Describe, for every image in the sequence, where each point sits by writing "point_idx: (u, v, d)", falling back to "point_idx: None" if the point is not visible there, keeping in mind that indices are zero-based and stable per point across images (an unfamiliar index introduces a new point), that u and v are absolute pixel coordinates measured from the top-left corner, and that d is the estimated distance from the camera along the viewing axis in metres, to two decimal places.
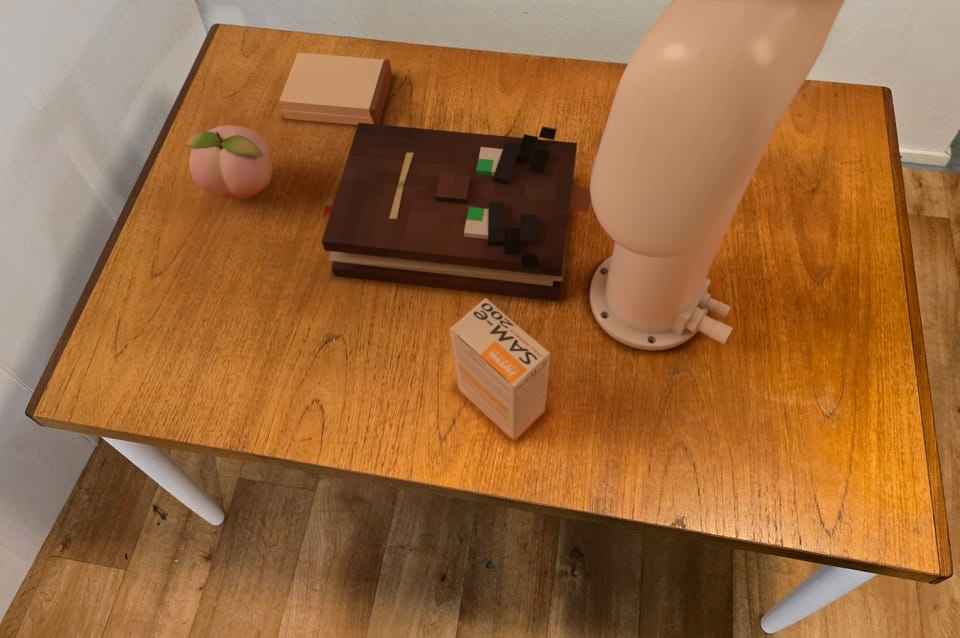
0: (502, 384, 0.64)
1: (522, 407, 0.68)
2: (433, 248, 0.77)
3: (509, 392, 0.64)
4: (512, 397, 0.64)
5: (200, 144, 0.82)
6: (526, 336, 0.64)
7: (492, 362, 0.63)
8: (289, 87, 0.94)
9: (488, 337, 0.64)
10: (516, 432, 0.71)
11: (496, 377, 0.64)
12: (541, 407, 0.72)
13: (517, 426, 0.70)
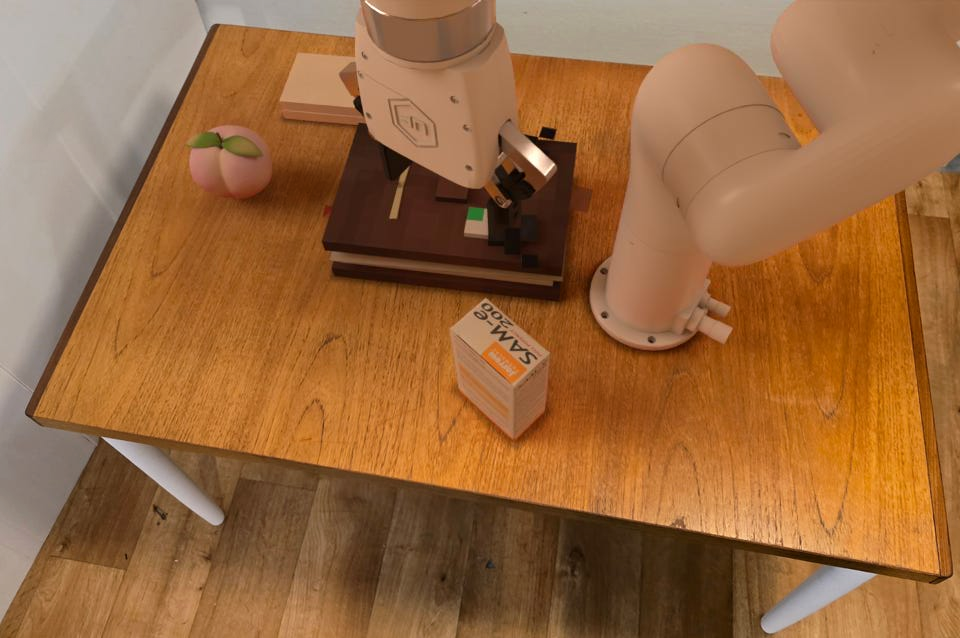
0: (502, 384, 0.64)
1: (523, 407, 0.68)
2: (433, 248, 0.77)
3: (509, 392, 0.64)
4: (512, 397, 0.64)
5: (200, 144, 0.82)
6: (526, 336, 0.64)
7: (493, 362, 0.63)
8: (289, 87, 0.94)
9: (488, 337, 0.64)
10: (516, 432, 0.71)
11: (496, 377, 0.64)
12: (541, 407, 0.72)
13: (517, 426, 0.70)
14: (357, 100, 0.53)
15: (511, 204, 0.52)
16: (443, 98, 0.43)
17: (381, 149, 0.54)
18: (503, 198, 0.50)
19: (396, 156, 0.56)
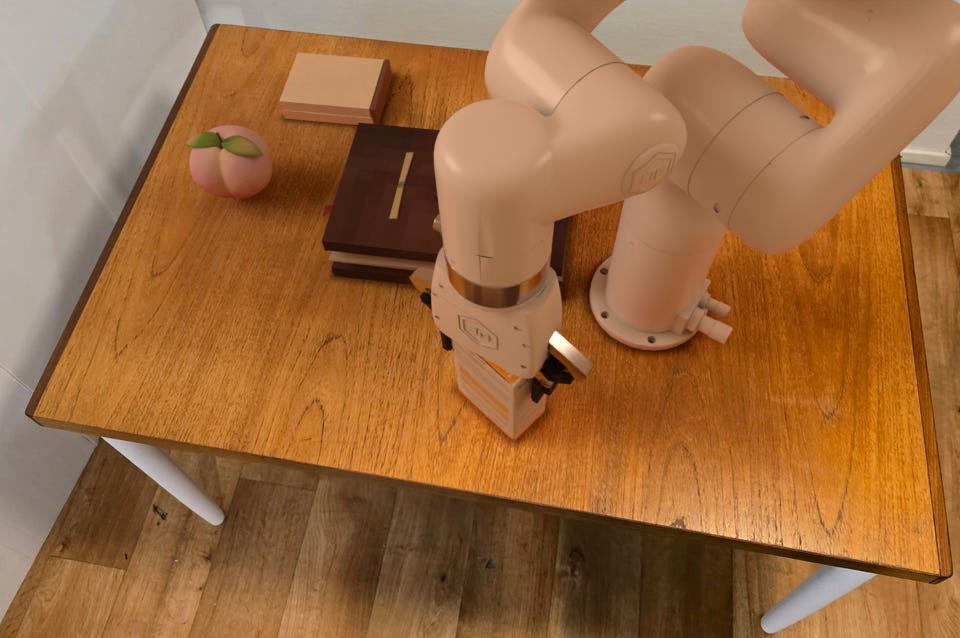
0: (501, 384, 0.64)
1: (522, 407, 0.67)
2: (433, 248, 0.77)
3: (509, 392, 0.64)
4: (512, 398, 0.64)
5: (200, 144, 0.82)
6: None
7: (492, 363, 0.63)
8: (289, 87, 0.94)
9: None
10: (516, 432, 0.71)
11: (495, 378, 0.64)
12: (541, 407, 0.72)
13: (517, 426, 0.70)
14: (424, 296, 0.64)
15: None
16: (508, 326, 0.54)
17: (442, 332, 0.65)
18: (547, 382, 0.61)
19: None
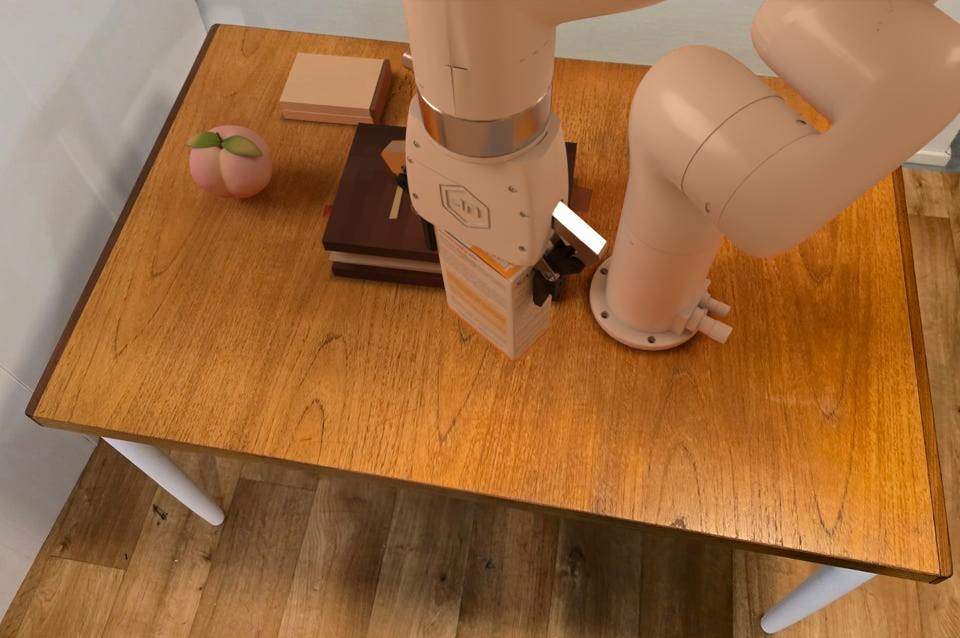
0: (497, 283, 0.53)
1: (523, 315, 0.56)
2: None
3: (506, 292, 0.53)
4: (510, 300, 0.53)
5: (200, 144, 0.82)
6: None
7: (485, 256, 0.52)
8: (289, 87, 0.94)
9: None
10: (516, 351, 0.60)
11: (489, 275, 0.53)
12: (545, 322, 0.61)
13: (517, 342, 0.59)
14: (400, 178, 0.53)
15: None
16: (500, 187, 0.43)
17: (424, 224, 0.54)
18: (552, 273, 0.50)
19: None
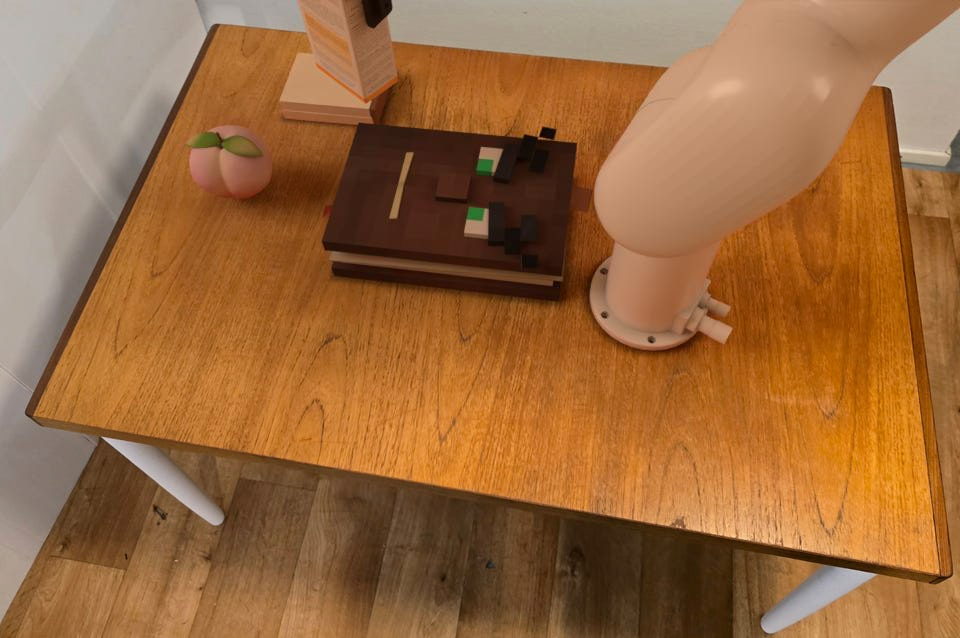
0: (333, 1, 0.65)
1: (362, 43, 0.69)
2: (433, 248, 0.77)
3: (340, 7, 0.65)
4: (344, 16, 0.66)
5: (200, 144, 0.82)
6: None
7: None
8: (289, 87, 0.94)
9: None
10: (364, 87, 0.73)
11: None
12: (391, 67, 0.74)
13: (363, 76, 0.72)
14: None
15: None
16: None
17: None
18: None
19: None
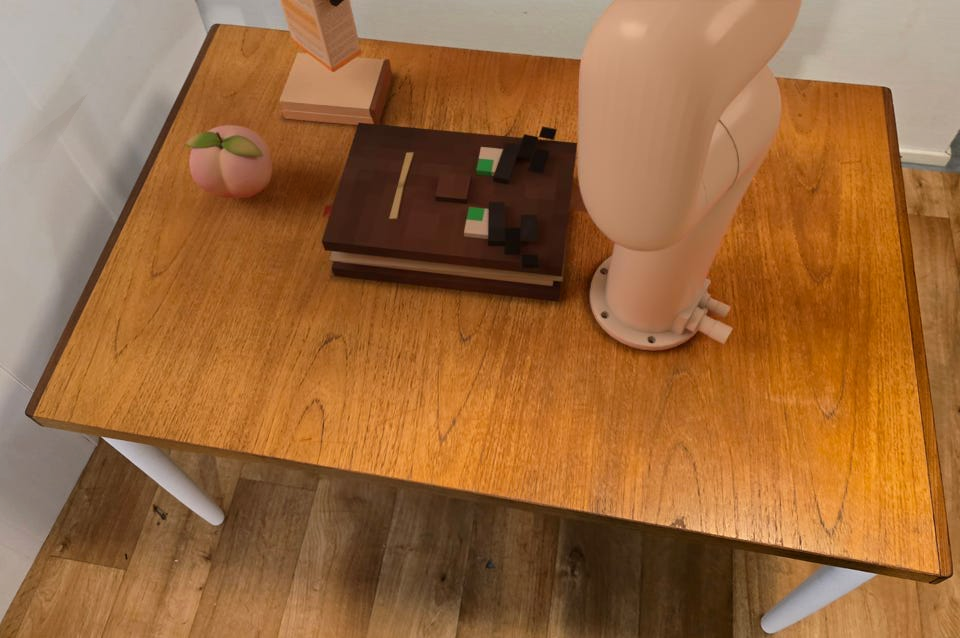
0: None
1: (327, 18, 0.82)
2: (433, 248, 0.77)
3: None
4: None
5: (200, 144, 0.82)
6: None
7: None
8: (289, 87, 0.94)
9: None
10: (331, 57, 0.86)
11: None
12: (354, 41, 0.87)
13: (329, 47, 0.85)
14: None
15: None
16: None
17: None
18: None
19: None
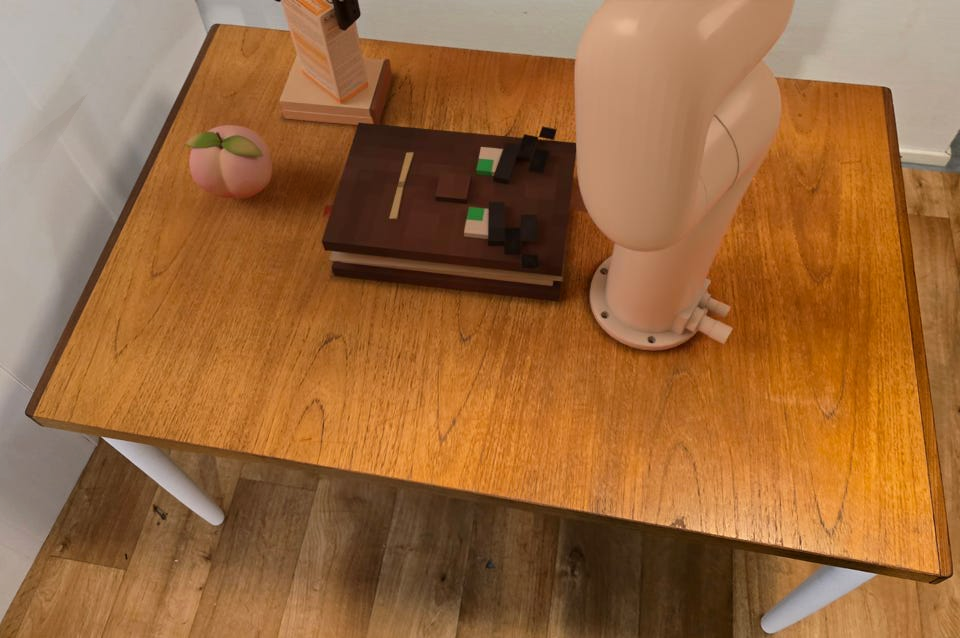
0: (314, 23, 0.83)
1: (337, 55, 0.86)
2: (433, 248, 0.77)
3: (319, 28, 0.83)
4: (323, 35, 0.83)
5: (200, 144, 0.82)
6: None
7: (306, 3, 0.82)
8: (289, 87, 0.94)
9: None
10: (340, 90, 0.90)
11: (309, 18, 0.83)
12: (362, 74, 0.92)
13: (339, 81, 0.89)
14: None
15: (348, 0, 0.80)
16: None
17: None
18: None
19: None
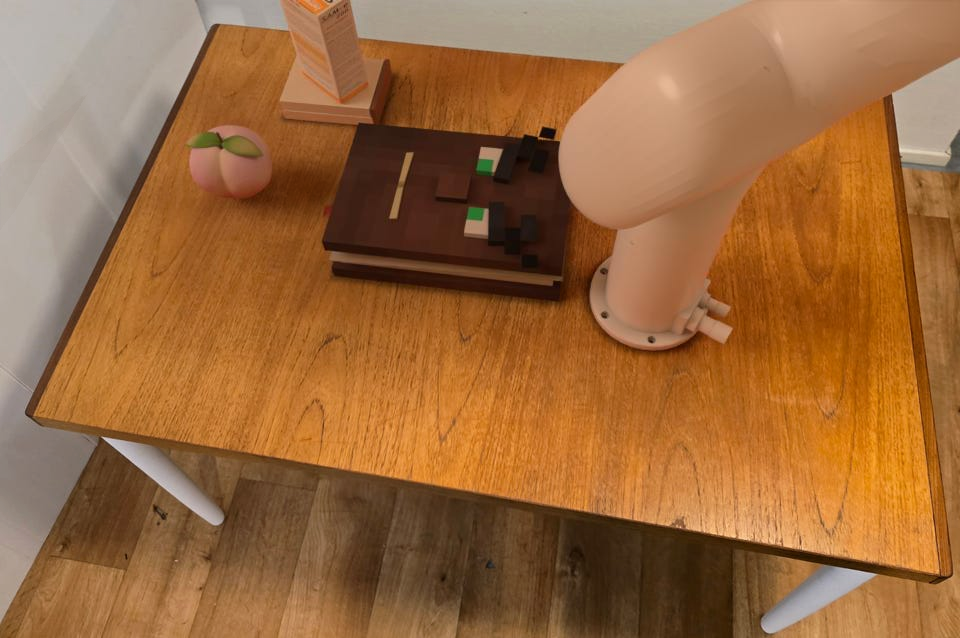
0: (312, 22, 0.83)
1: (337, 54, 0.86)
2: (433, 248, 0.77)
3: (318, 27, 0.83)
4: (321, 34, 0.83)
5: (200, 144, 0.82)
6: None
7: (304, 3, 0.82)
8: (289, 87, 0.94)
9: None
10: (340, 90, 0.90)
11: (308, 17, 0.83)
12: (361, 74, 0.92)
13: (338, 81, 0.89)
14: None
15: None
16: None
17: None
18: None
19: None
